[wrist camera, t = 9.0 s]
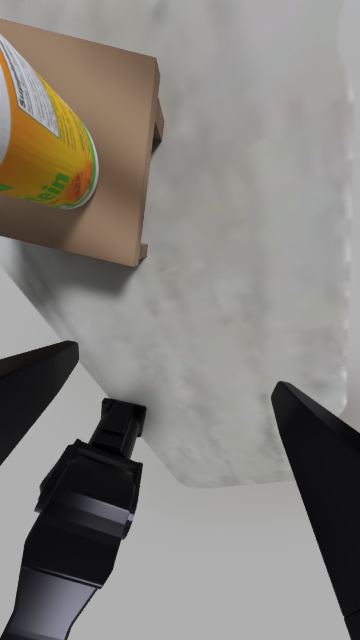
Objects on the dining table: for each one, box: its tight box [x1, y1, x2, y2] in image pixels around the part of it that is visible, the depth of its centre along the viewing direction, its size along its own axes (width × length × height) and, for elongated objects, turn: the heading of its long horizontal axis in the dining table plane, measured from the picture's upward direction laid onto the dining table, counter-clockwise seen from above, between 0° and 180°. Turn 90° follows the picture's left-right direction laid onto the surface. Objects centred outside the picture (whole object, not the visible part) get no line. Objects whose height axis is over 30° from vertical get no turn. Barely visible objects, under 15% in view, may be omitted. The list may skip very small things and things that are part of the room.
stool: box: [0, 19, 164, 267], centre depth 14 cm, size 11×11×5 cm
